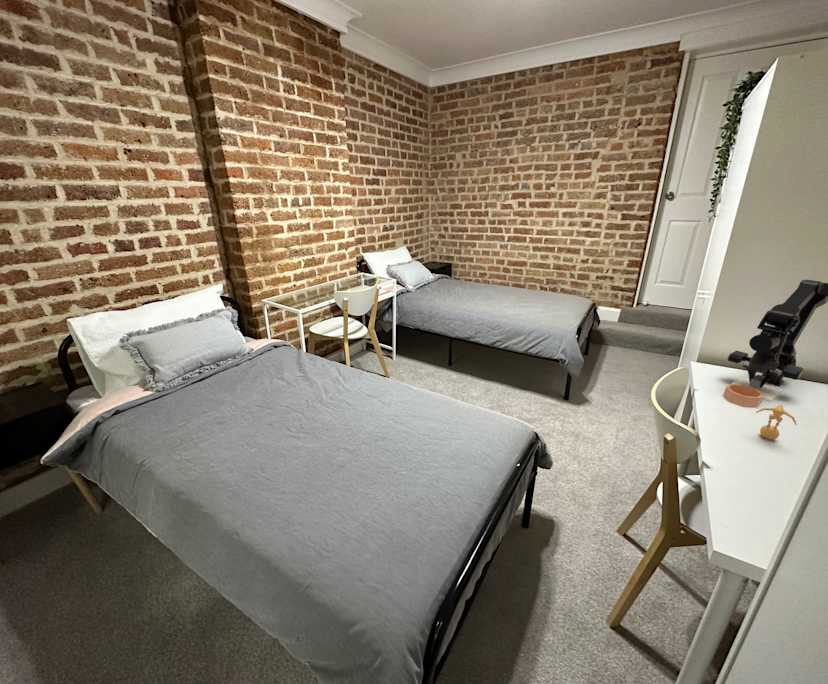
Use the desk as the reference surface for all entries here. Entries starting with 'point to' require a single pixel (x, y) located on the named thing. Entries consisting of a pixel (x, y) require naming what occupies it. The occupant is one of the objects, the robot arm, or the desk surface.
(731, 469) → the desk surface
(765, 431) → the figurine
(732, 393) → the bowl
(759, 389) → the lid
